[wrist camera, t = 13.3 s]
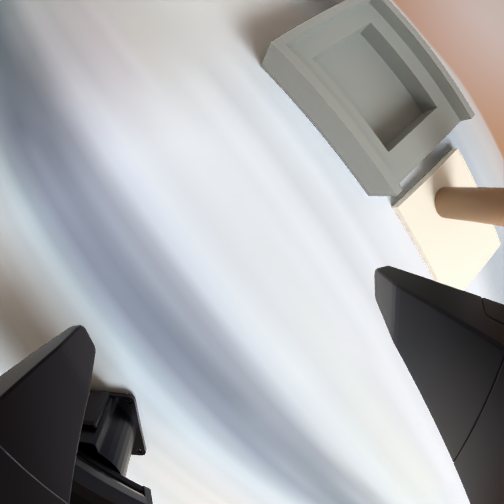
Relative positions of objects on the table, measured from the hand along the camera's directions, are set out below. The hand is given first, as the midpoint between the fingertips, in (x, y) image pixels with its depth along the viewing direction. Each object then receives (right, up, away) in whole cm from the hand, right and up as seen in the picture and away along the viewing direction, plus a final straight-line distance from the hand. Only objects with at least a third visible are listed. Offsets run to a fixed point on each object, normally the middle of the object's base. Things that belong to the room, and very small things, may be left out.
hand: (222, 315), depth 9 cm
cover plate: (+17, +4, +14) cm, 22 cm away
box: (+9, +13, +11) cm, 20 cm away
